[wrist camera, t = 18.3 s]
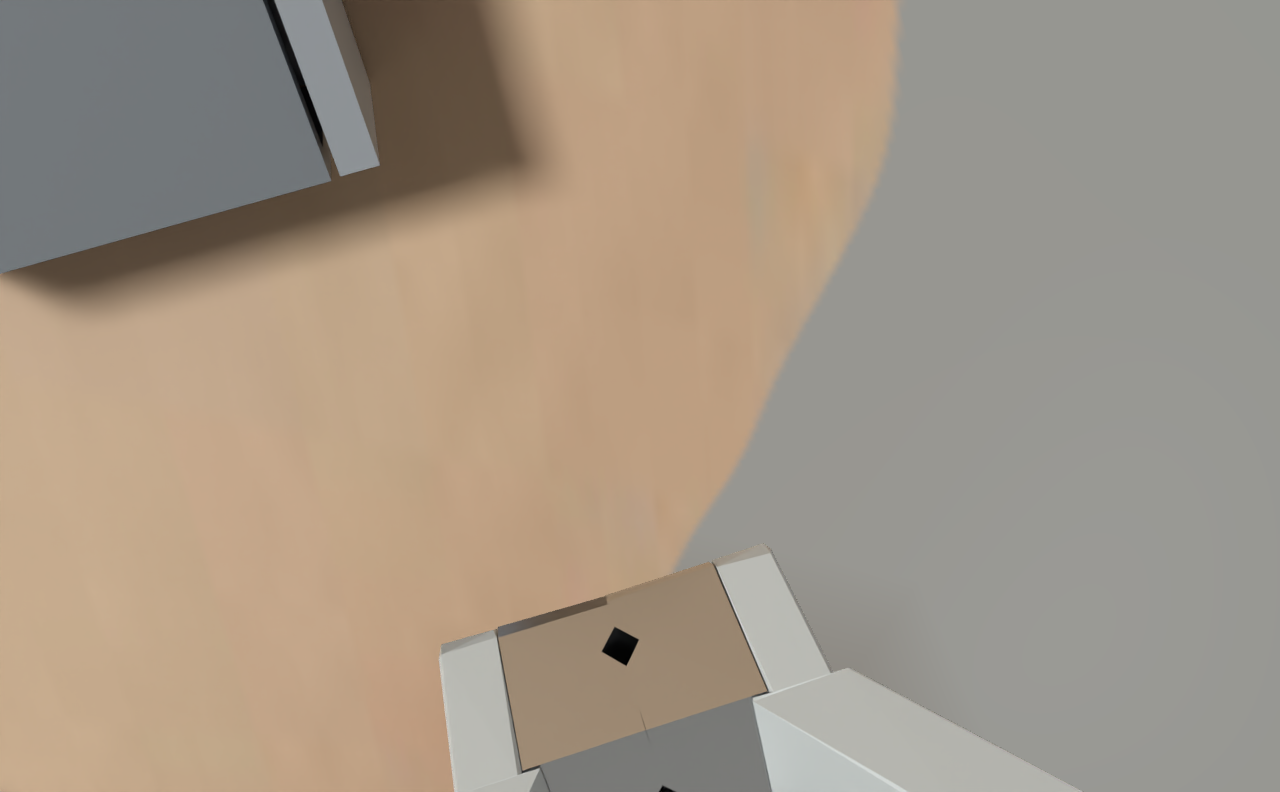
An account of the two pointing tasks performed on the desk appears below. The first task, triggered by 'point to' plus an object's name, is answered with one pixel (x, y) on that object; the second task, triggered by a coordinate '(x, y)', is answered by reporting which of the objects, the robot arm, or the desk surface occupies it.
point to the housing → (143, 119)
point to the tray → (331, 77)
